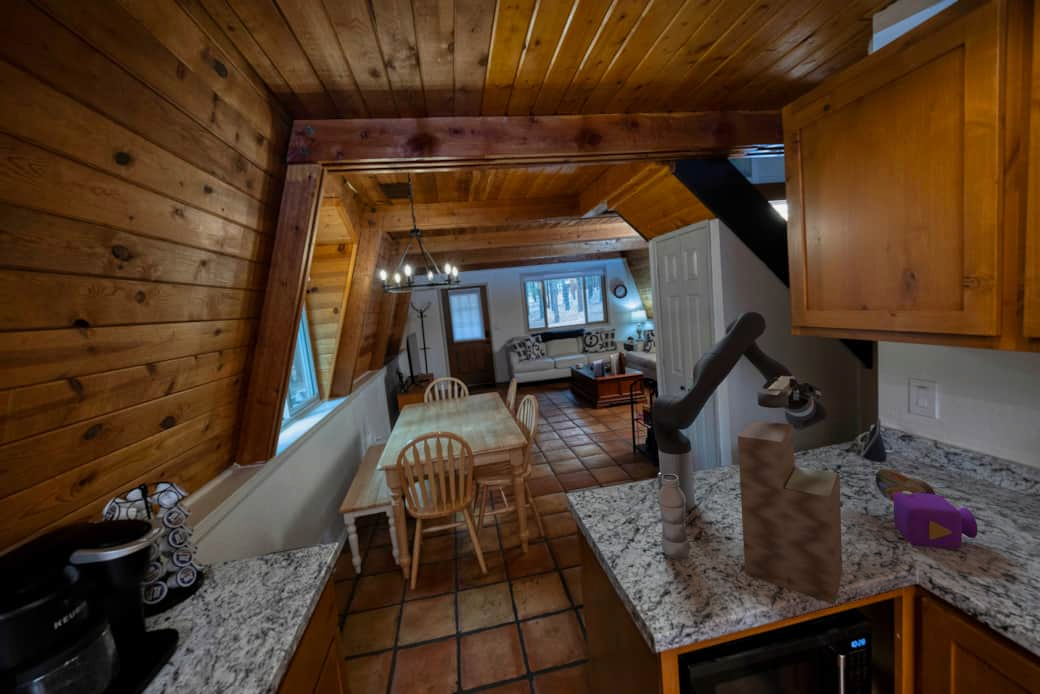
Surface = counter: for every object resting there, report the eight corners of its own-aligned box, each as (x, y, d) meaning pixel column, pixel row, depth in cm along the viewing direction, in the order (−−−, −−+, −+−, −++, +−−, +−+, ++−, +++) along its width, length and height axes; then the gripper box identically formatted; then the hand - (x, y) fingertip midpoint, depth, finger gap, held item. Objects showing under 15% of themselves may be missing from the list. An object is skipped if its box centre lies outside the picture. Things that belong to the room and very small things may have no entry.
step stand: (745, 574, 91) (737, 436, 87) (758, 547, 100) (752, 420, 96) (835, 605, 80) (830, 448, 76) (842, 571, 89) (838, 429, 85)
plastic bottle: (676, 567, 96) (670, 486, 94) (656, 552, 102) (650, 475, 100) (696, 557, 98) (691, 478, 96) (675, 543, 104) (670, 469, 102)
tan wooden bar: (754, 406, 94) (754, 393, 94) (774, 386, 108) (774, 375, 108) (785, 409, 90) (784, 395, 90) (802, 388, 104) (801, 376, 104)
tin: (874, 492, 118) (874, 464, 117) (885, 490, 118) (885, 463, 117) (927, 519, 103) (927, 487, 102) (939, 517, 103) (939, 486, 102)
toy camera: (991, 553, 89) (991, 510, 88) (917, 552, 92) (917, 510, 91) (950, 526, 100) (950, 487, 99) (885, 525, 103) (884, 487, 101)
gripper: (768, 385, 119) (752, 366, 107) (827, 388, 109) (818, 368, 98) (765, 410, 117) (750, 393, 105) (826, 416, 107) (816, 398, 96)
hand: (782, 381), depth 102 cm, fingers closed on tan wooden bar, 3 cm apart
